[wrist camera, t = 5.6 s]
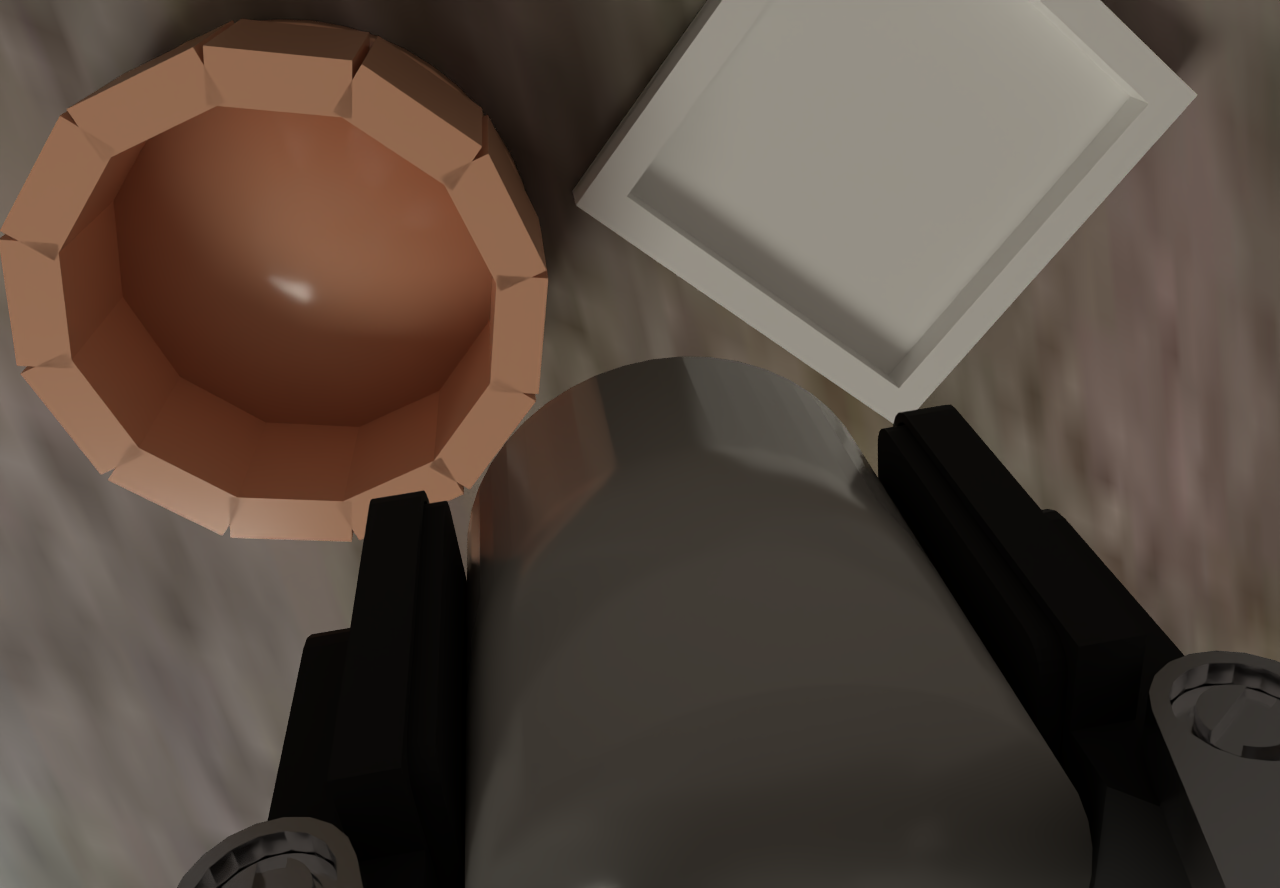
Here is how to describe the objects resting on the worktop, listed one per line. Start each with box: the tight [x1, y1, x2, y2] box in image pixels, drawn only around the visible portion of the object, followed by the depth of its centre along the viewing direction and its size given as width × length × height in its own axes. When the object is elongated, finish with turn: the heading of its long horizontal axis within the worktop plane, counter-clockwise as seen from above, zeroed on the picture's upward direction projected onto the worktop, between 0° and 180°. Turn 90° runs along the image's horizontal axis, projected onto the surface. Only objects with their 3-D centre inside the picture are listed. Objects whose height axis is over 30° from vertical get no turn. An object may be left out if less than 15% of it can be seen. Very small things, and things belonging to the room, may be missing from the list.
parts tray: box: [572, 0, 1197, 424], centre depth 25 cm, size 10×10×1 cm
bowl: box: [0, 19, 548, 542], centre depth 24 cm, size 10×10×4 cm
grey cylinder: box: [465, 357, 1093, 888], centre depth 10 cm, size 4×4×5 cm
